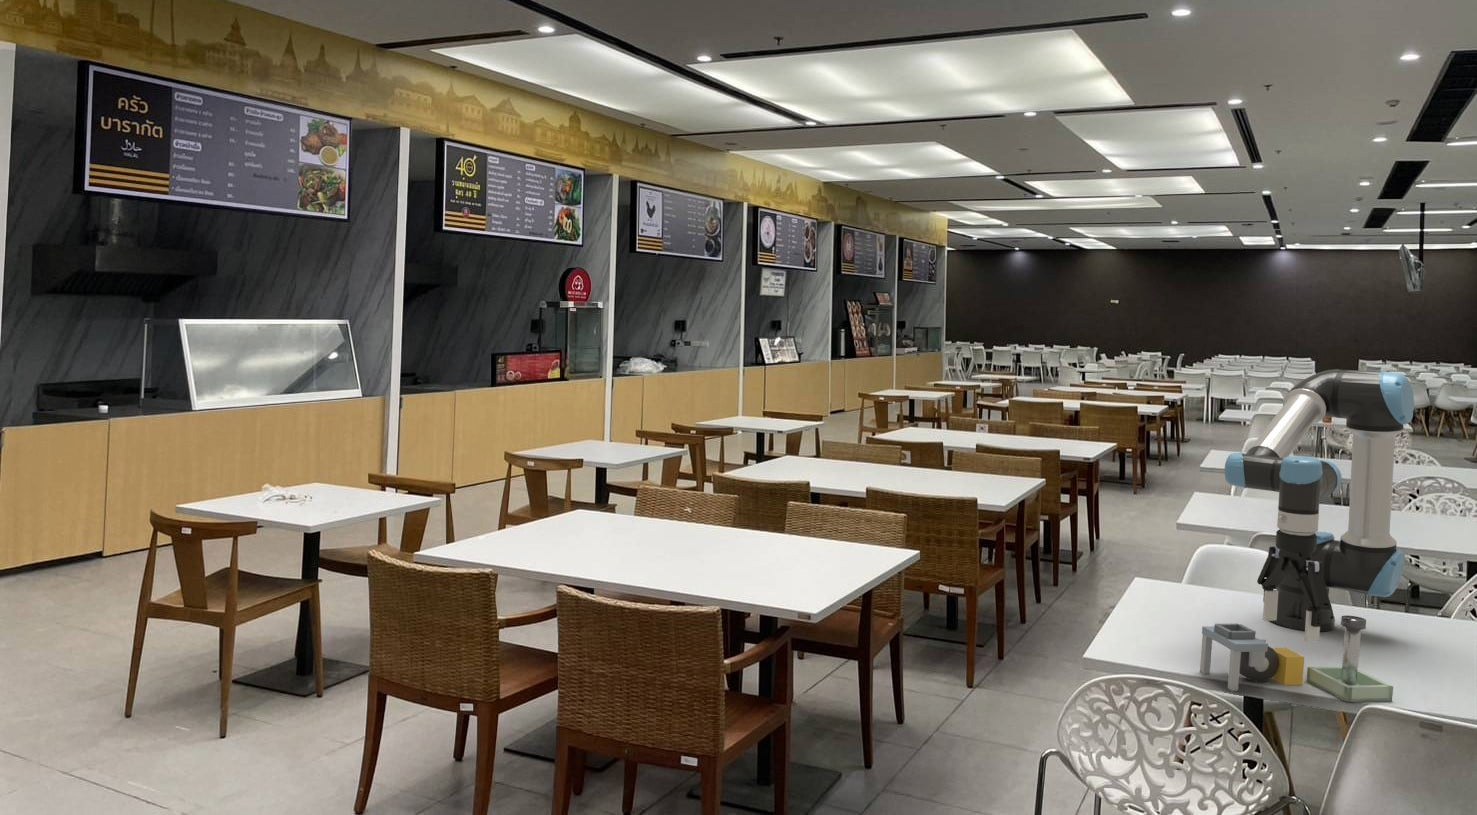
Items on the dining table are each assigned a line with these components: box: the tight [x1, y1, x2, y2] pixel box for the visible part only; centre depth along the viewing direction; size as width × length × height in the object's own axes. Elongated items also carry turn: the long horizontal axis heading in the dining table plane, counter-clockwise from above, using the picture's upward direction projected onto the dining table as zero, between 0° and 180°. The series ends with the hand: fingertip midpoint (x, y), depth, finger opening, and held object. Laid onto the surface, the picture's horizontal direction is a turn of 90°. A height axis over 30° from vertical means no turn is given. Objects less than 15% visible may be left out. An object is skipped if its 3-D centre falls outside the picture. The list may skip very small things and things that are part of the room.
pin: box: [1340, 615, 1367, 686], centre depth 215 cm, size 4×4×15 cm
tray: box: [1306, 666, 1394, 703], centre depth 216 cm, size 10×12×3 cm
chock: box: [1271, 647, 1305, 686], centre depth 221 cm, size 4×6×6 cm, turn 8°
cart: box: [1199, 623, 1279, 692], centre depth 220 cm, size 12×13×11 cm
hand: (1289, 630), depth 221 cm, fingers open, 13 cm apart
